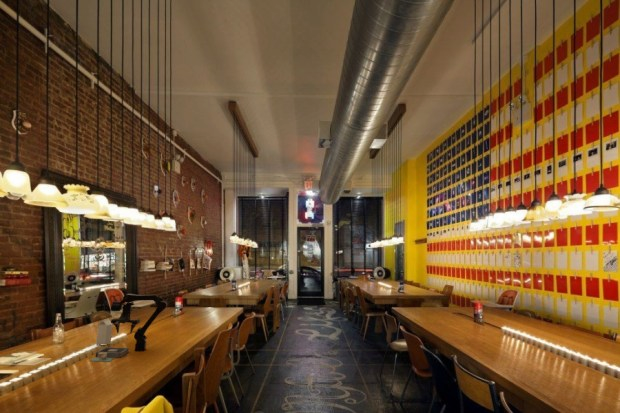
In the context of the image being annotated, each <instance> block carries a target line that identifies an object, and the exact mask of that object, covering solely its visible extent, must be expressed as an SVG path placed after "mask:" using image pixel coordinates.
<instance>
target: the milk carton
mask: <svg viewBox="0 0 620 413" xmlns="http://www.w3.org/2000/svg"><path fill="white" fill-rule="evenodd" d="M113 326H114V324H113V323H111V320H110V318H109V317H108V318H104V319H102V320H101V322H100V323H99V324H98V326H97V335H96V342H95V343H96V344H108V345H111V344H110V343H112V334H113ZM96 344H95V345H96Z"/></svg>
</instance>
